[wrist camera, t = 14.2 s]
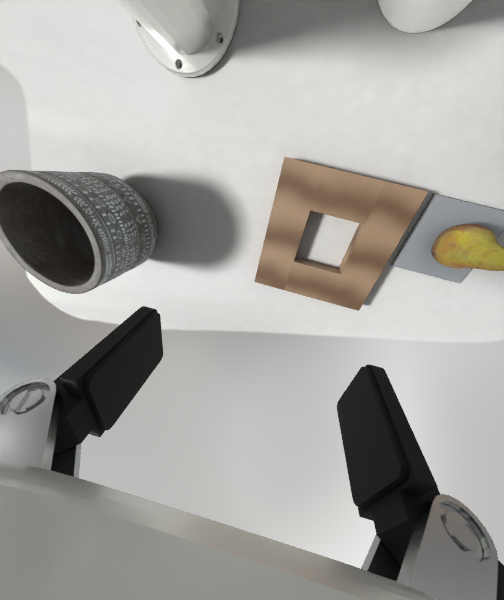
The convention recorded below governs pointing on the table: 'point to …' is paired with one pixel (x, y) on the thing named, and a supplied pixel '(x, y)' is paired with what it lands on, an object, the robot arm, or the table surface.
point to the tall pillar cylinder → (420, 13)
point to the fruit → (469, 248)
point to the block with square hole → (343, 204)
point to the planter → (74, 226)
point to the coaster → (433, 223)
